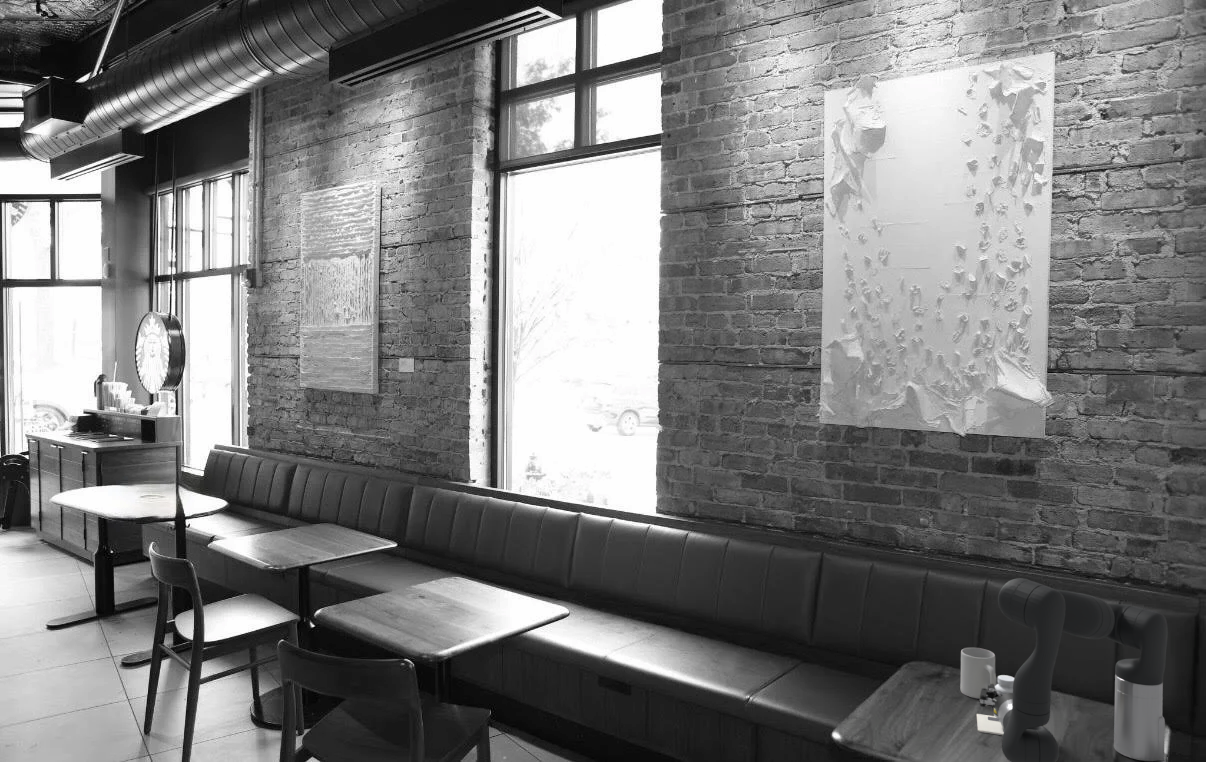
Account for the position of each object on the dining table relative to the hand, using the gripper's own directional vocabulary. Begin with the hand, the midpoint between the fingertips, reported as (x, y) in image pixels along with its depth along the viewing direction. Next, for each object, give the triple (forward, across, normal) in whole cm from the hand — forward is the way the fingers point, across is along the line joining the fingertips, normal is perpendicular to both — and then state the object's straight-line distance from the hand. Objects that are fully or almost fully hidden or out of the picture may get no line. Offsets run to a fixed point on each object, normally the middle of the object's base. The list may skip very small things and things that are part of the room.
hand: (1004, 689), depth 209 cm
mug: (+17, +3, +8) cm, 19 cm away
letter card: (-2, 0, +9) cm, 9 cm away
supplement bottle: (-3, 0, +6) cm, 7 cm away
